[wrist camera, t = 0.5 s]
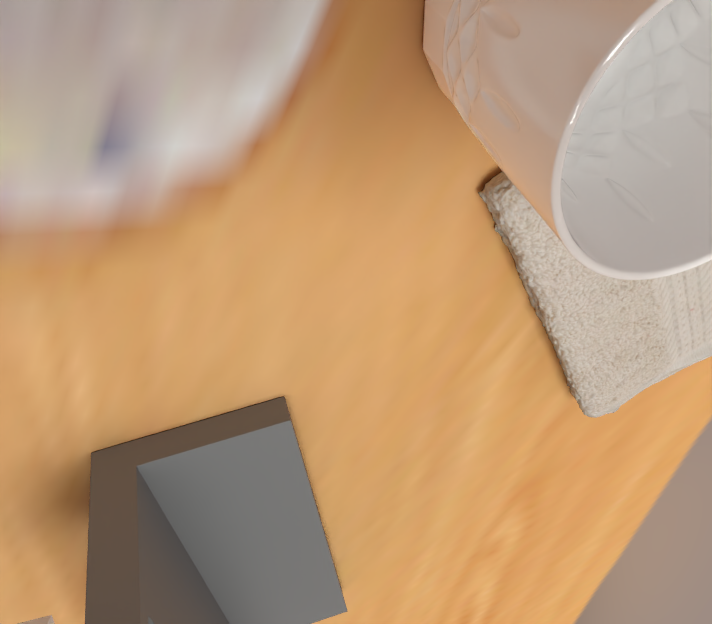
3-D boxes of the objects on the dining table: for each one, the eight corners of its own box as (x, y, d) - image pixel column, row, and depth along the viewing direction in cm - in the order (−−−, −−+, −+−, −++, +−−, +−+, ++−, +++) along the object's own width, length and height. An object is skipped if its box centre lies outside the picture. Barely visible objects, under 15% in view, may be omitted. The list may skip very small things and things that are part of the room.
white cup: (538, 149, 26) (707, 303, 18) (365, 87, 22) (488, 246, 15) (664, -61, 22) (945, 28, 14) (479, -179, 18) (725, -141, 11)
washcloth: (570, 399, 38) (598, 440, 36) (459, 178, 26) (491, 217, 24) (758, 293, 36) (800, 328, 34) (731, 6, 25) (793, 30, 22)
